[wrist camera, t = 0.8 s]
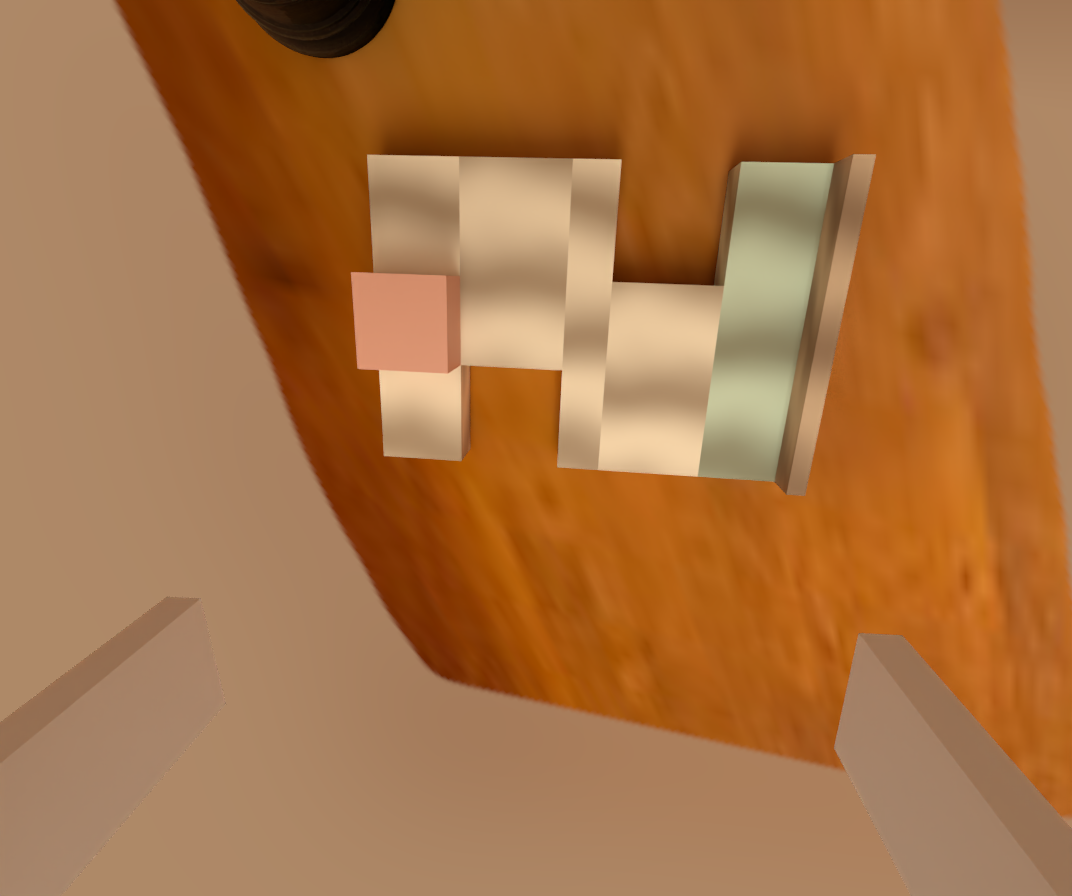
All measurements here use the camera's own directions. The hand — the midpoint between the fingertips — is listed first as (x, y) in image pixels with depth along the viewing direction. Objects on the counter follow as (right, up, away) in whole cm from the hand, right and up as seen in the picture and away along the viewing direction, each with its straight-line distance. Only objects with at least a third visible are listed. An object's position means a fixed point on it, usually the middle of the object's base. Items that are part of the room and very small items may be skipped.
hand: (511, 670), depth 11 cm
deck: (+3, +12, +21) cm, 25 cm away
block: (-6, +12, +20) cm, 24 cm away
